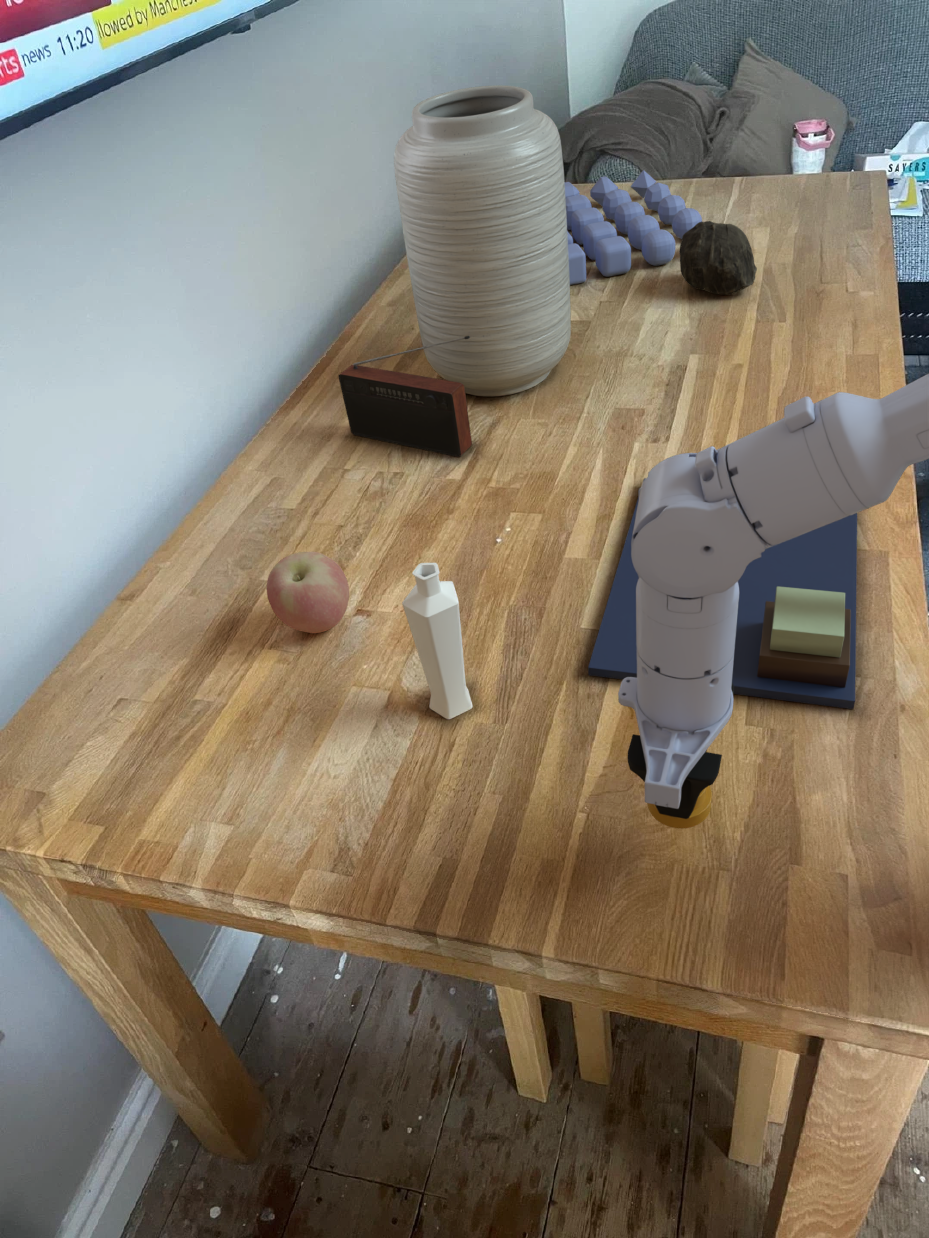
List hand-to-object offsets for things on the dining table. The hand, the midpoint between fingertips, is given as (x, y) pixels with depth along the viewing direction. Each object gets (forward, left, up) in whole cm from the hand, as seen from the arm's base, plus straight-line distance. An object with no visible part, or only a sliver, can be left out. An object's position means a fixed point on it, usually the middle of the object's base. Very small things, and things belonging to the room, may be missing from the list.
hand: (679, 788), depth 65 cm
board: (+22, -22, -7) cm, 32 cm away
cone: (0, 0, -2) cm, 2 cm away
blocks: (+108, -58, -7) cm, 123 cm away
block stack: (+10, -20, -6) cm, 23 cm away
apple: (+39, +15, -7) cm, 42 cm away
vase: (+75, -24, -7) cm, 79 cm away
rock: (+78, -62, -7) cm, 100 cm away
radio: (+65, -7, -7) cm, 66 cm away
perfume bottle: (+22, +8, -7) cm, 24 cm away
